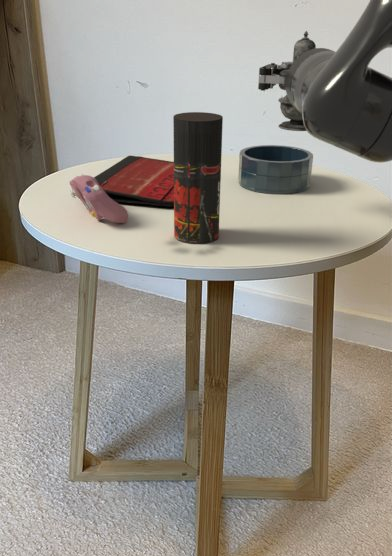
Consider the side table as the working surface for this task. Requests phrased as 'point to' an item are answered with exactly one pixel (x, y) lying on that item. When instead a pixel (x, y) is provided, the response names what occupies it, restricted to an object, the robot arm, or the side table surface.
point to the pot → (275, 169)
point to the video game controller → (97, 199)
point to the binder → (139, 181)
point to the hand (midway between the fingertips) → (298, 70)
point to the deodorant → (197, 176)
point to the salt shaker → (285, 104)
